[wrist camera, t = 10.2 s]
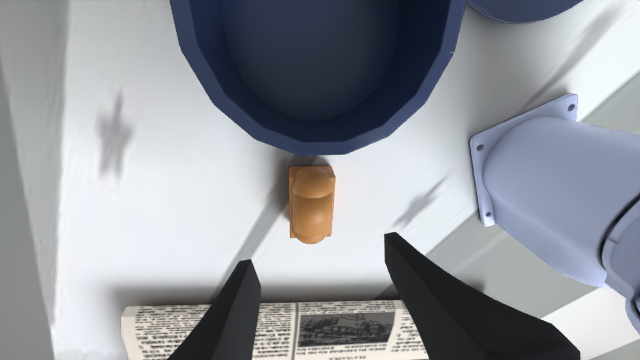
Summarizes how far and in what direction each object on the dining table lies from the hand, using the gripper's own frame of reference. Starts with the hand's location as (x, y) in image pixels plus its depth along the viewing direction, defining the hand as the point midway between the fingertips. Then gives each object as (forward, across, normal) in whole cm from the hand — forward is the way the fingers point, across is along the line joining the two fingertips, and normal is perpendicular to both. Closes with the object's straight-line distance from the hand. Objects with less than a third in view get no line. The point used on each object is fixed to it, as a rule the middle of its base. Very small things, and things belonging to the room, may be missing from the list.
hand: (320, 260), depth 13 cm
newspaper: (+7, +2, +21) cm, 23 cm away
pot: (+7, -2, -11) cm, 13 cm away
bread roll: (+7, 0, 0) cm, 7 cm away
